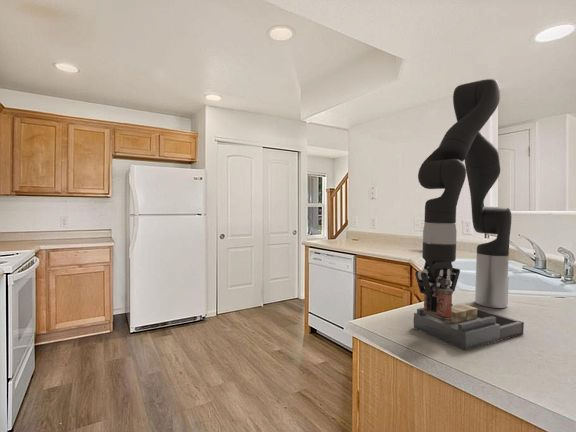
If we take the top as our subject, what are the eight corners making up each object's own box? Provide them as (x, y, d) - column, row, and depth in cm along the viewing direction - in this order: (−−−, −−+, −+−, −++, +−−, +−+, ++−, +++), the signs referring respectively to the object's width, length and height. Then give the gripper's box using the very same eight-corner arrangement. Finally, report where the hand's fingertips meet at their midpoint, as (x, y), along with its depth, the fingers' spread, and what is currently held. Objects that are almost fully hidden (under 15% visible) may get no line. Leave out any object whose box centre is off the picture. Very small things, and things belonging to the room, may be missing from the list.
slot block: (445, 320, 93) (446, 302, 93) (499, 340, 80) (500, 318, 80) (413, 327, 88) (414, 307, 87) (465, 350, 74) (466, 326, 74)
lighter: (419, 312, 84) (420, 273, 83) (429, 310, 85) (430, 273, 85) (444, 322, 76) (446, 280, 76) (455, 321, 77) (456, 279, 77)
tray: (469, 315, 98) (469, 306, 98) (523, 333, 85) (523, 322, 85) (445, 320, 93) (446, 310, 93) (499, 340, 80) (499, 328, 80)
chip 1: (451, 315, 86) (452, 306, 86) (465, 320, 83) (466, 310, 82) (441, 317, 84) (442, 308, 84) (455, 322, 81) (455, 312, 81)
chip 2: (462, 313, 88) (463, 304, 88) (477, 317, 85) (477, 308, 85) (453, 315, 86) (453, 305, 86) (467, 320, 83) (467, 310, 83)
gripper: (445, 238, 86) (442, 302, 87) (406, 240, 80) (404, 309, 81) (471, 241, 80) (469, 310, 80) (432, 243, 73) (429, 318, 74)
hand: (436, 309), depth 80 cm, fingers closed on lighter, 3 cm apart
